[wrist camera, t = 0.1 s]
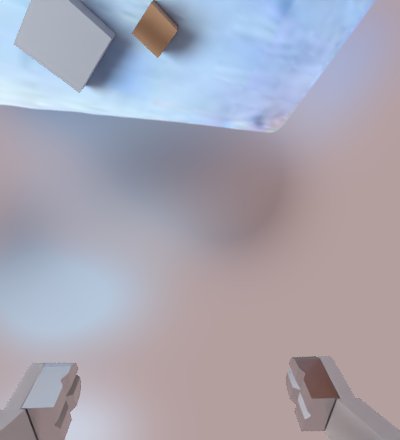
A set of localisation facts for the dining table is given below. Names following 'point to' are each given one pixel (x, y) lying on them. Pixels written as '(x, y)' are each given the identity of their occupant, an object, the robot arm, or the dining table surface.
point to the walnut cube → (155, 29)
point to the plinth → (64, 39)
